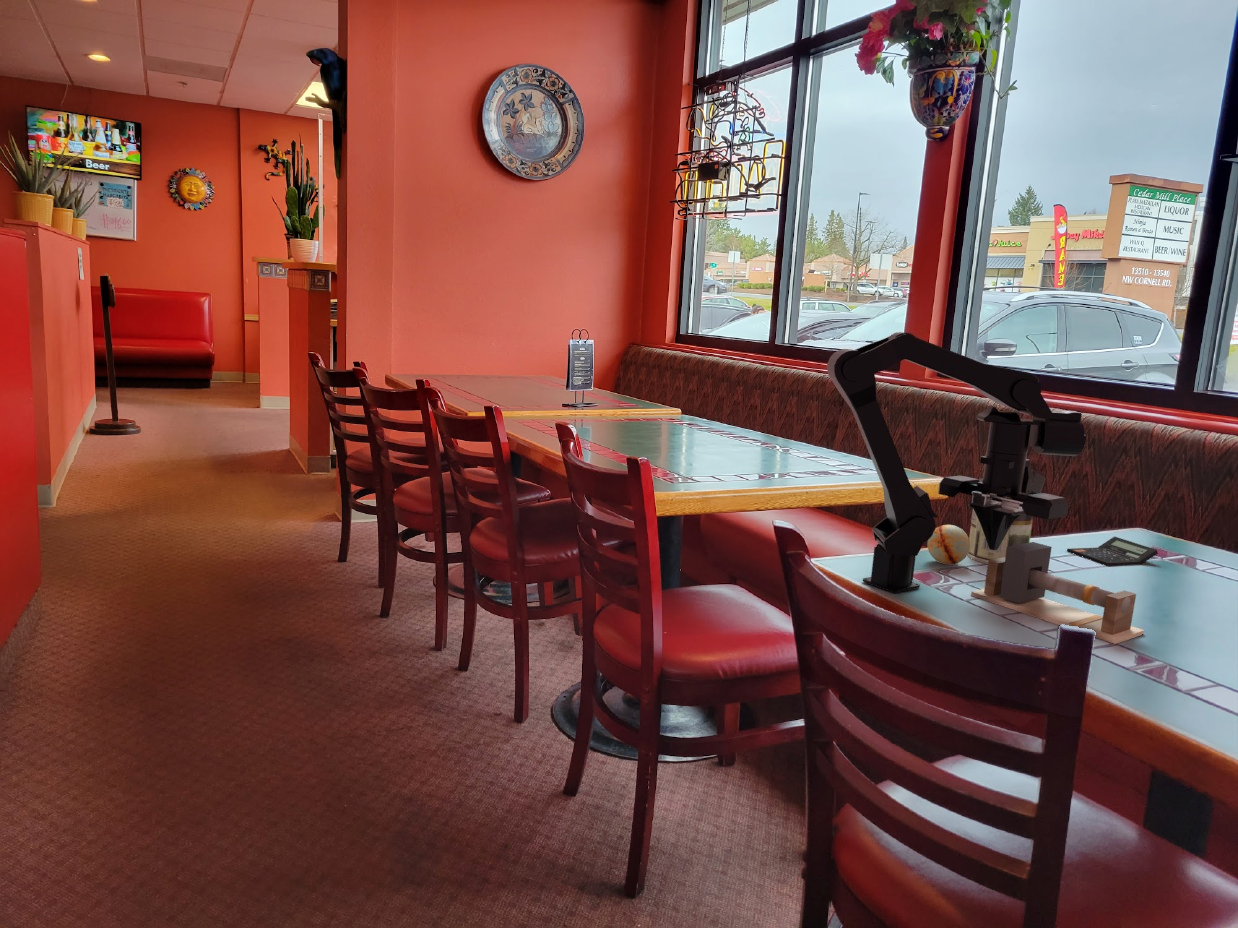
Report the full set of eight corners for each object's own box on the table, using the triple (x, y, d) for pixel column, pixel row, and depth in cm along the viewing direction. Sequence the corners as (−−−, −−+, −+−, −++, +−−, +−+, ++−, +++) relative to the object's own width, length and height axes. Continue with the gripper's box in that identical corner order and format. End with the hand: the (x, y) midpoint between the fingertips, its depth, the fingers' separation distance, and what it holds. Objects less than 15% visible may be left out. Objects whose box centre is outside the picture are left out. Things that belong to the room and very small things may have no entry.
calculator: (1066, 552, 165) (1068, 537, 165) (1113, 551, 169) (1116, 536, 168) (1107, 567, 156) (1109, 551, 156) (1155, 565, 160) (1158, 549, 159)
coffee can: (1019, 554, 161) (1029, 480, 158) (1033, 569, 151) (1045, 491, 148) (961, 548, 163) (970, 475, 160) (971, 563, 153) (982, 486, 150)
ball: (973, 564, 152) (978, 526, 151) (959, 572, 147) (964, 532, 146) (933, 555, 157) (938, 518, 155) (919, 563, 151) (923, 524, 150)
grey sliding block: (1044, 596, 132) (1051, 546, 131) (1018, 603, 129) (1025, 551, 127) (1025, 591, 135) (1033, 541, 134) (1000, 597, 131) (1007, 546, 130)
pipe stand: (1143, 634, 121) (1150, 594, 120) (1115, 643, 117) (1121, 602, 116) (1000, 588, 139) (1005, 553, 138) (970, 595, 135) (975, 559, 134)
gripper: (1094, 459, 130) (1079, 559, 132) (982, 440, 145) (971, 530, 147) (1054, 463, 123) (1039, 568, 126) (942, 443, 138) (930, 537, 141)
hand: (993, 549), depth 135 cm, fingers closed
